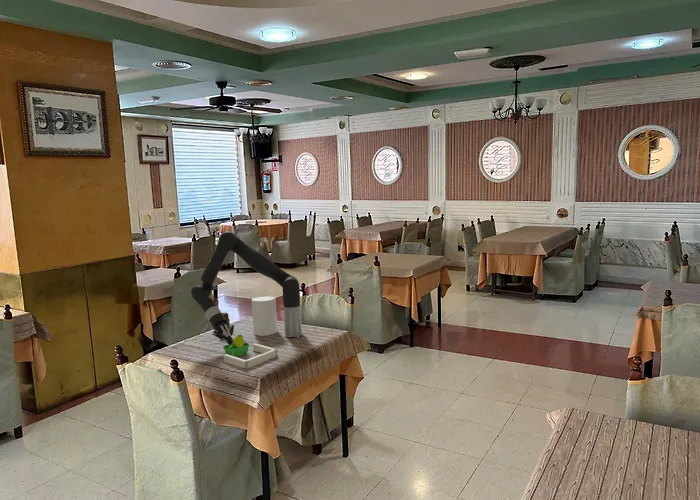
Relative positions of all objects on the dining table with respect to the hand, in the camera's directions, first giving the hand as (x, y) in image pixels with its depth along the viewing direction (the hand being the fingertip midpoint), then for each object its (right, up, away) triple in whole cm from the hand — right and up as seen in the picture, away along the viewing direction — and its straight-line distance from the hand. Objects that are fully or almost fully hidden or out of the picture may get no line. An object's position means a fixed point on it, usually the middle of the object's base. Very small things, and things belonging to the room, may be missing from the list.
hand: (231, 343), depth 256 cm
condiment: (-11, -1, +32) cm, 34 cm away
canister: (+12, 0, +34) cm, 36 cm away
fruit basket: (+4, -5, -3) cm, 7 cm away
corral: (+12, -6, -9) cm, 16 cm away
